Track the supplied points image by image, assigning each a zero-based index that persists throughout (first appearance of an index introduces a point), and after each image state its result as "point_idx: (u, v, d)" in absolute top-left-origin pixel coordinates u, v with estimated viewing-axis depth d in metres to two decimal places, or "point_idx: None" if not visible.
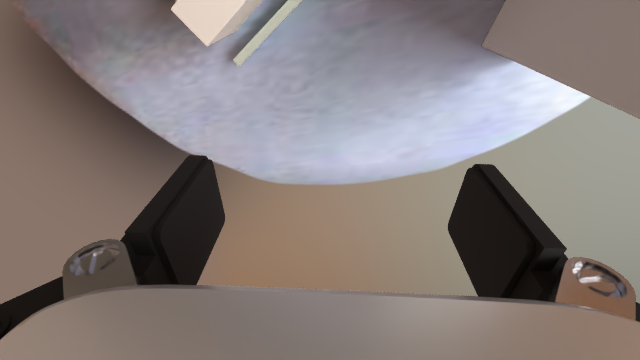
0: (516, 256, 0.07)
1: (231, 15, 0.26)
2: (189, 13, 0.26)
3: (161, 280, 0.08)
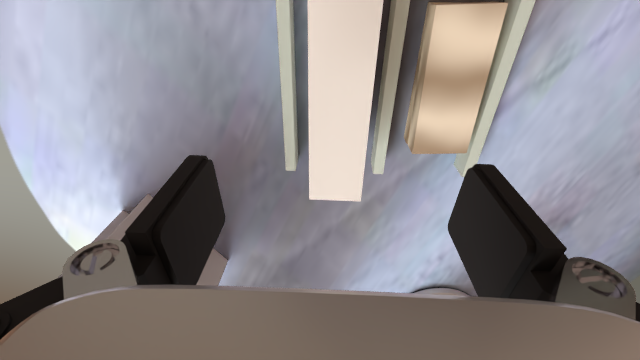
0: (516, 256, 0.07)
1: (310, 60, 0.17)
2: (358, 7, 0.15)
3: (161, 280, 0.08)
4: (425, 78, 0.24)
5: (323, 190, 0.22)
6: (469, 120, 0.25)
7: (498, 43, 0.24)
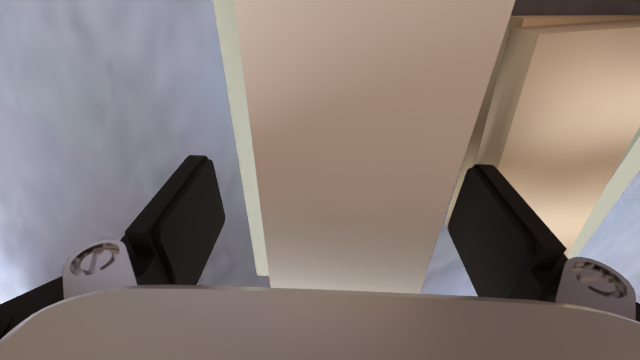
0: (516, 256, 0.07)
1: (264, 191, 0.06)
2: (413, 53, 0.05)
3: (161, 280, 0.08)
4: (501, 162, 0.13)
5: None
6: (573, 222, 0.14)
7: None
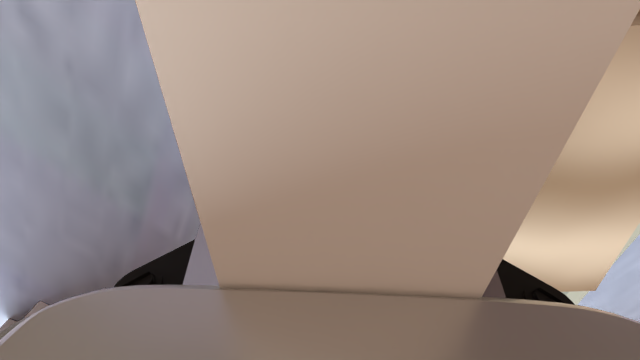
0: None
1: (220, 262, 0.04)
2: (458, 63, 0.03)
3: None
4: None
5: None
6: (612, 244, 0.12)
7: None
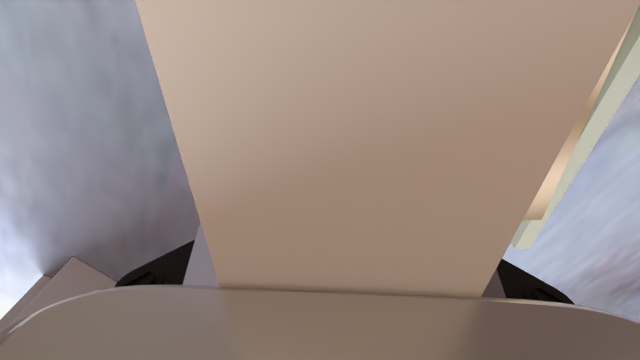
0: None
1: (220, 261, 0.04)
2: (457, 61, 0.03)
3: None
4: None
5: None
6: (551, 175, 0.16)
7: None
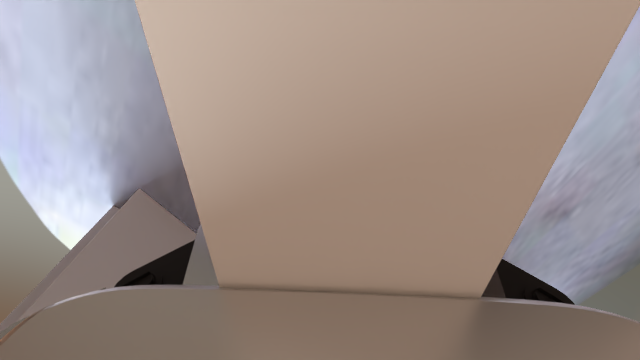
0: None
1: (220, 260, 0.04)
2: (457, 59, 0.03)
3: None
4: None
5: None
6: None
7: None
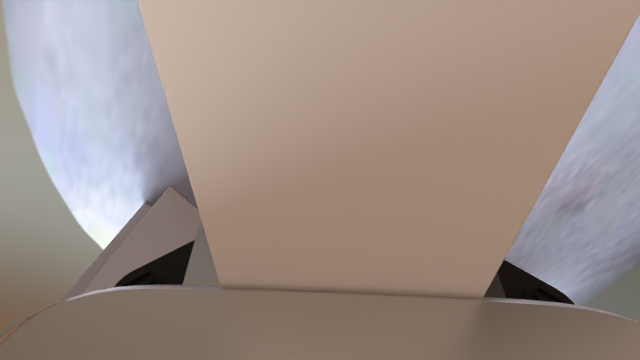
0: None
1: (221, 261, 0.04)
2: (460, 60, 0.03)
3: None
4: None
5: None
6: None
7: None
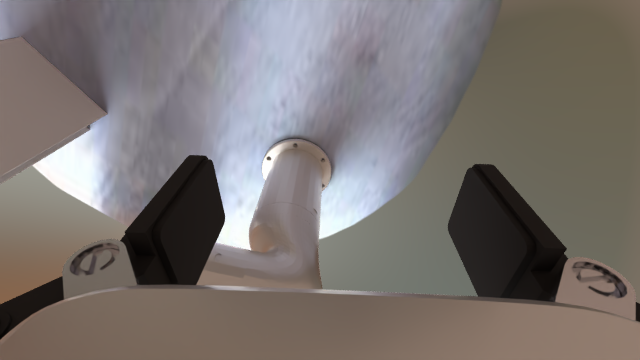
0: (516, 256, 0.07)
1: None
2: None
3: (161, 280, 0.08)
4: None
5: None
6: None
7: None
